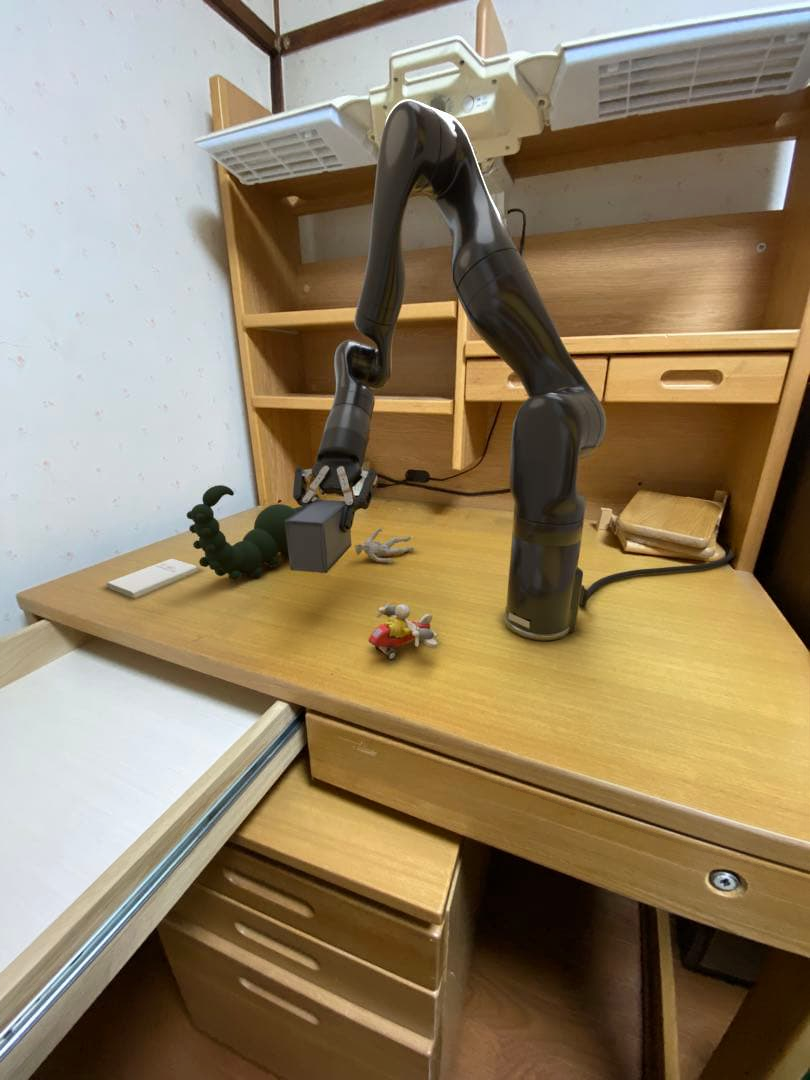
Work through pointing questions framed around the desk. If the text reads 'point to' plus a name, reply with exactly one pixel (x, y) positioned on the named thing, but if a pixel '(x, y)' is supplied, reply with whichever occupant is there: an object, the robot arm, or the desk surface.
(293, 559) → the dark grey rectangular box
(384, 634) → the toy airplane
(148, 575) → the hard drive
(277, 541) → the toy figurine
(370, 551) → the soldier figure
